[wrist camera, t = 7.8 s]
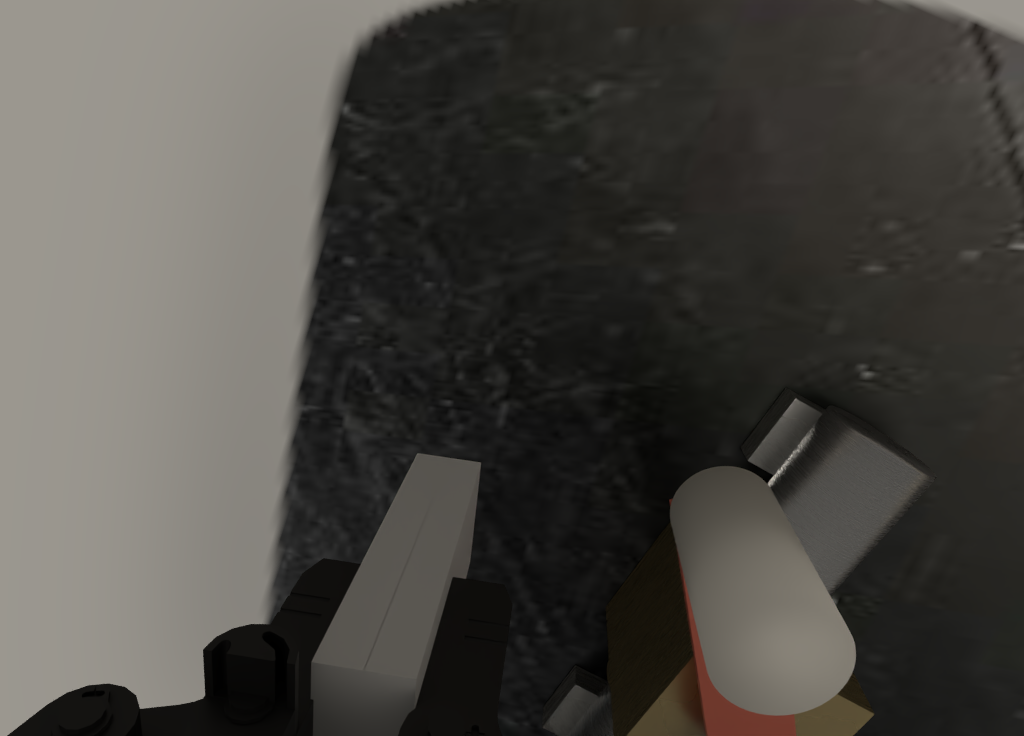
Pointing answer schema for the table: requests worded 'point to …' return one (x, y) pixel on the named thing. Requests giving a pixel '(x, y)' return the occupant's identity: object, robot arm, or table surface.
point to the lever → (754, 608)
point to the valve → (824, 536)
